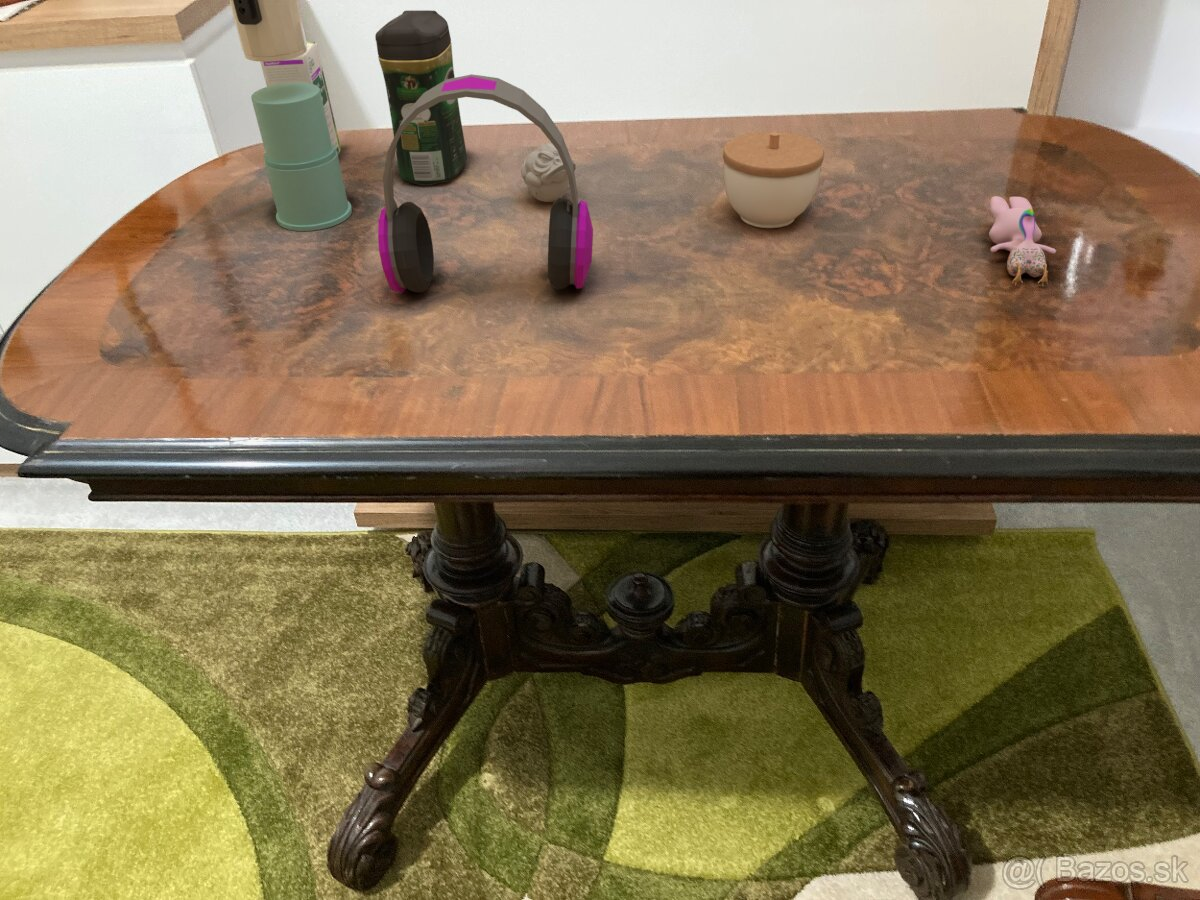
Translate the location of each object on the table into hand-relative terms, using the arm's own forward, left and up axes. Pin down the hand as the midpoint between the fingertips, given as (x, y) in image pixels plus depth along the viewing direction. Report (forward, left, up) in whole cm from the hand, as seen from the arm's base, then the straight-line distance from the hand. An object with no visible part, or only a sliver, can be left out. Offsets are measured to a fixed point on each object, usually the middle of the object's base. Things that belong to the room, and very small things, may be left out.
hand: (266, 13), depth 94 cm
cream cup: (0, 0, -4) cm, 4 cm away
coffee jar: (+17, -2, -22) cm, 28 cm away
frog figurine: (+19, -20, -22) cm, 35 cm away
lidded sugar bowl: (+30, -43, -22) cm, 57 cm away
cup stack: (0, 0, -22) cm, 22 cm away
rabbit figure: (+37, -68, -22) cm, 81 cm away
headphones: (0, -29, -22) cm, 36 cm away
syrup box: (+10, +13, -22) cm, 28 cm away
